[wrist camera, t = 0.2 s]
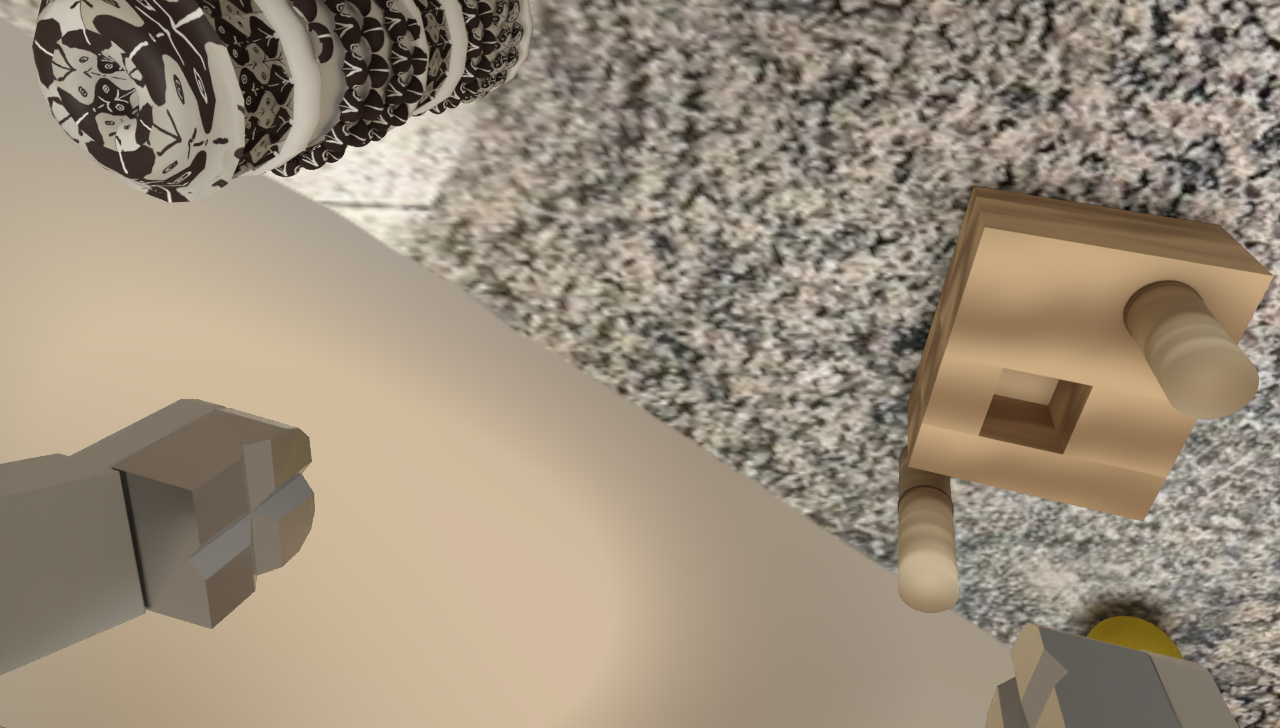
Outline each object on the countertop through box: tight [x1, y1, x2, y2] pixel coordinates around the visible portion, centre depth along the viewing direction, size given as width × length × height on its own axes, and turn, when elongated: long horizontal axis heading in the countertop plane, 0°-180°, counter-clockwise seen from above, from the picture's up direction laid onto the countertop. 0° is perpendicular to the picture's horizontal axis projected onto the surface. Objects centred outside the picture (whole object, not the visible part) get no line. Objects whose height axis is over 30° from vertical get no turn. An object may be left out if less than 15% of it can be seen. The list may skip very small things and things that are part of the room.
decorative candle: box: [32, 0, 533, 202], centre depth 36 cm, size 9×9×25 cm
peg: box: [898, 446, 959, 613], centre depth 46 cm, size 3×3×12 cm
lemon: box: [1087, 616, 1183, 659], centre depth 49 cm, size 6×6×8 cm
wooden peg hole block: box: [908, 186, 1274, 521], centre depth 39 cm, size 14×12×14 cm
